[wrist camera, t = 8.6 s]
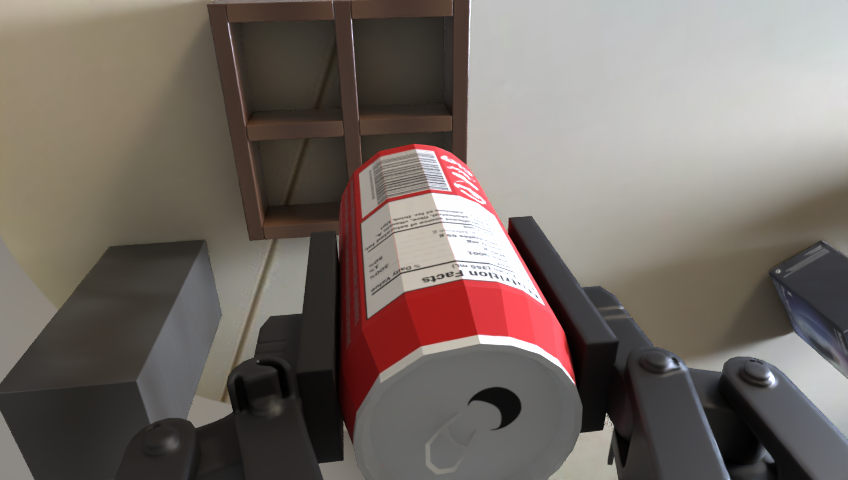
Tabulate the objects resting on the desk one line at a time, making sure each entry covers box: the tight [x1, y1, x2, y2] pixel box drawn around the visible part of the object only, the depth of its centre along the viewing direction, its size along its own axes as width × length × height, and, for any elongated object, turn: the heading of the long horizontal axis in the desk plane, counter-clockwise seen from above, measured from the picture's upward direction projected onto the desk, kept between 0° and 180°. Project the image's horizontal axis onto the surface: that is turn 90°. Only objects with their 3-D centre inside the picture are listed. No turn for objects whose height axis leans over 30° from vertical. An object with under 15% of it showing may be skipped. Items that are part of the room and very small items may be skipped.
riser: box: [0, 240, 222, 480], centre depth 42 cm, size 8×8×18 cm
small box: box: [769, 240, 848, 379], centre depth 55 cm, size 11×6×10 cm, turn 35°
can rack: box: [207, 0, 470, 241], centre depth 43 cm, size 18×18×4 cm
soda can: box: [338, 144, 583, 480], centre depth 17 cm, size 6×6×12 cm
